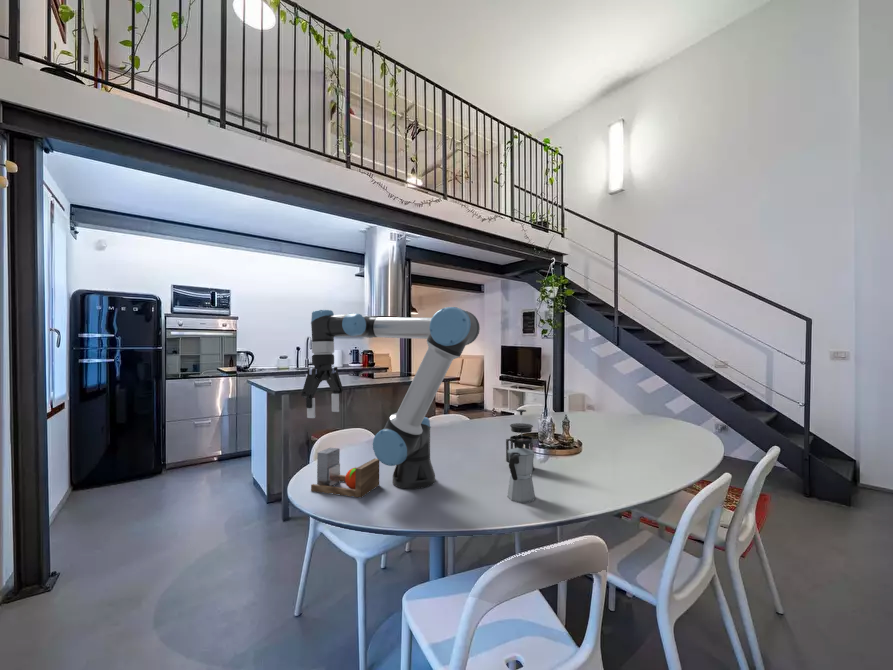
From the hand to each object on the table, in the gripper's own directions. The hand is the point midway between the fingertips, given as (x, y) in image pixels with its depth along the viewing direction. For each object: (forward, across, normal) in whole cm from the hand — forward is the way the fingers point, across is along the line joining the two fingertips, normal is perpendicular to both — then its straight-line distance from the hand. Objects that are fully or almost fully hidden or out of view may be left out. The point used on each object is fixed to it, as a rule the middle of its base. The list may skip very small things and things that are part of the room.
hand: (323, 414), depth 134 cm
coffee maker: (+26, -9, +66) cm, 72 cm away
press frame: (+25, 0, +8) cm, 26 cm away
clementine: (+25, 0, +12) cm, 28 cm away
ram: (+24, 0, +1) cm, 24 cm away
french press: (+26, -40, +62) cm, 78 cm away
